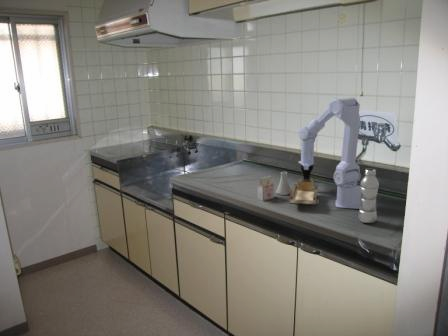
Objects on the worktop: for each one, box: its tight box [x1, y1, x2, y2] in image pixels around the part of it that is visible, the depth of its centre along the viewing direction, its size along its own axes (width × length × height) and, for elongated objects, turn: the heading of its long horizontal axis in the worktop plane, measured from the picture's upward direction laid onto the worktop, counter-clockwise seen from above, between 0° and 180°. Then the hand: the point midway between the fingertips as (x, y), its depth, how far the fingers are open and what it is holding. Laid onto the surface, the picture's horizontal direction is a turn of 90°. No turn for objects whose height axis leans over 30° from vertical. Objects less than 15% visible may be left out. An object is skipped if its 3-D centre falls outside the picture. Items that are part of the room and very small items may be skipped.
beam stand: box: [289, 198, 320, 206], centre depth 163 cm, size 12×6×2 cm, turn 75°
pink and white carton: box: [256, 175, 275, 202], centre depth 169 cm, size 4×7×10 cm, turn 125°
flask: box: [275, 171, 292, 196], centre depth 175 cm, size 7×7×10 cm
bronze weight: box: [297, 178, 314, 191], centre depth 169 cm, size 6×6×4 cm
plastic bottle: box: [357, 167, 380, 224], centre depth 138 cm, size 6×7×20 cm
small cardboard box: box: [289, 183, 318, 205], centre depth 163 cm, size 10×22×3 cm, turn 165°
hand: (306, 180), depth 178 cm, fingers closed
